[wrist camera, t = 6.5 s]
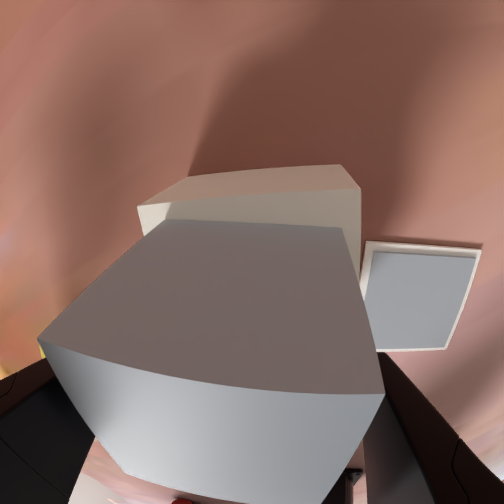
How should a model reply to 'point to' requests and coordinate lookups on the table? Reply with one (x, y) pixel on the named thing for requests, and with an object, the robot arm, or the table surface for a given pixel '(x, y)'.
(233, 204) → the cream block
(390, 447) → the robot arm
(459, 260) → the tile
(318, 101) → the table surface
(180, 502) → the toy fire truck
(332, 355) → the grey block
